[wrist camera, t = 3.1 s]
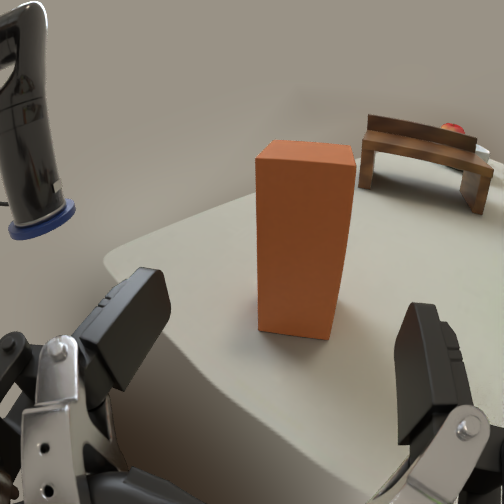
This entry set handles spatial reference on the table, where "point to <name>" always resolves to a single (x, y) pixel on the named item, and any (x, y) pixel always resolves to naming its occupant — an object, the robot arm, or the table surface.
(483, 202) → the shelf
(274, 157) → the carton
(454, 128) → the apple
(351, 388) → the table surface
